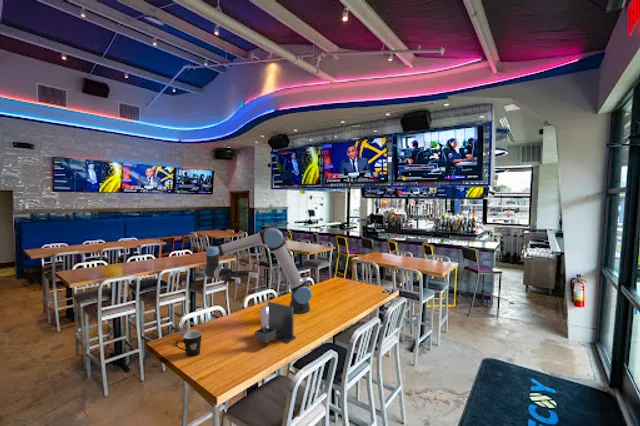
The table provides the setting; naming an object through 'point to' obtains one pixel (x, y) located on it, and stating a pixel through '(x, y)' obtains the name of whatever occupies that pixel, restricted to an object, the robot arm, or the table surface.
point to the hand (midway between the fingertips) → (248, 278)
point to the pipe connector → (186, 330)
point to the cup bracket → (278, 324)
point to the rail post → (264, 319)
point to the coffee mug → (192, 343)
